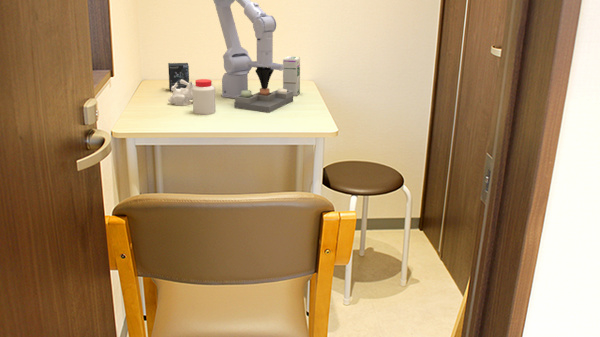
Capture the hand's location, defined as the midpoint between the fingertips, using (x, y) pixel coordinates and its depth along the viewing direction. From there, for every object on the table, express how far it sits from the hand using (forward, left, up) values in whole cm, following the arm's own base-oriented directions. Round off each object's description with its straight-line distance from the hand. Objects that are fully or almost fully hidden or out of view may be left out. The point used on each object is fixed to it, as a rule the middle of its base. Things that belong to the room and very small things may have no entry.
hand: (264, 88), depth 220 cm
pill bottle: (-13, -20, -6) cm, 25 cm away
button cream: (+4, +7, -3) cm, 8 cm away
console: (0, 0, -6) cm, 6 cm away
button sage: (-4, -6, -2) cm, 8 cm away
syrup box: (+1, +20, -6) cm, 21 cm away
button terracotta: (0, 0, -2) cm, 2 cm away
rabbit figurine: (-25, -14, -6) cm, 30 cm away
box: (-41, +4, -6) cm, 41 cm away
